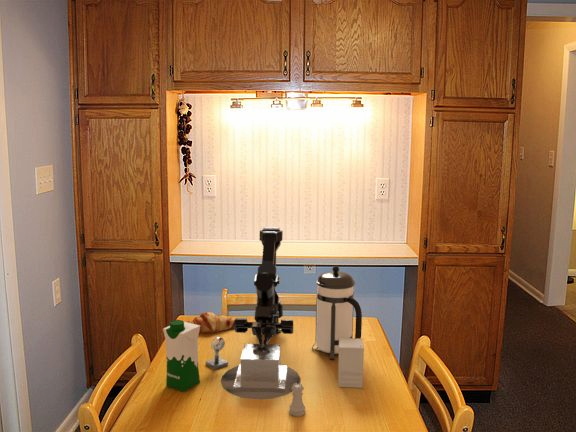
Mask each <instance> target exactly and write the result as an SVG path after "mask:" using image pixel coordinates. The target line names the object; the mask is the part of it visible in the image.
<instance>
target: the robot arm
mask: <svg viewBox="0 0 576 432" xmlns="http://www.w3.org/2000/svg"><path fill="white" fill-rule="evenodd" d="M283 232H284V231H283V230H280V227H277V226H276V227H274V226H273V227H271V226H270V227H269V226H268V227H266V226H264V227H263V229H260V230H259V241H260V242H261V245H262V258H261V263H260V265H259V266H257V273H255V275H254V279H253V280H254V281H253V285H254V286H255V293H256V306H255V309H254V310H255V311H254V321H248V319H247V317H236V318H234V319H235V320H234V328H233V329H234V332H235V333H237V334H238V333H241V334H243V333H244V334H245V333H247V332H248V331H249V329H251V332H252V335H253V336H255V337H256V339H257V341H258V344H268V343H269V341H271V339H272V337H274V336H276V335H277V334H279V333H282V334H284V335H292V334H294V320H293V319H292V318H282V317H284V316H283V314H284V312H283V311H284V310H283V309H284V306H283V304H282V302H281V301H280V297H279V295H278V293H277V291H276V287H278V286H279V285H280V282H281V278H280V276H279V274H277V251H278V249H280V246H281V244H282V243H281V242H282V241H283V239H284V237H283V234H284V233H283ZM279 319H280V322H279ZM263 335H264V336H263Z"/></svg>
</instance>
